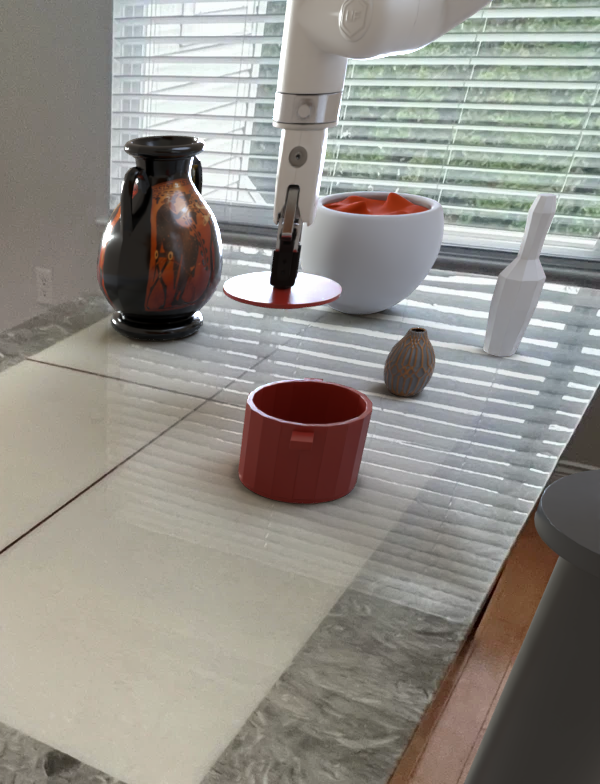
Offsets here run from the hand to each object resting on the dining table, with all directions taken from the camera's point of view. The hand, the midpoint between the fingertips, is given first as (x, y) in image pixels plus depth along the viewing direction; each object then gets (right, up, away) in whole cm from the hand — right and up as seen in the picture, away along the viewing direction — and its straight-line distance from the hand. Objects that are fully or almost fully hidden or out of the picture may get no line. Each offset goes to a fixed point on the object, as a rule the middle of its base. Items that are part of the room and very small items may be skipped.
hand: (283, 280), depth 111 cm
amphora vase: (-12, +12, +40) cm, 44 cm away
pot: (+26, +19, +46) cm, 56 cm away
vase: (+22, -9, +15) cm, 28 cm away
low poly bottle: (+42, +2, +26) cm, 50 cm away
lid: (0, -1, +1) cm, 1 cm away
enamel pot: (0, -27, -5) cm, 28 cm away
